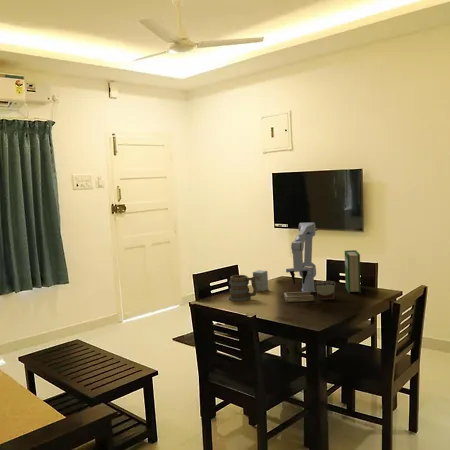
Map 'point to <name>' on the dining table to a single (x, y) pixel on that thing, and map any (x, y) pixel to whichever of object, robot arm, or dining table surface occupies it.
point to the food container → (325, 289)
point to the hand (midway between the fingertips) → (298, 283)
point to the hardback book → (352, 271)
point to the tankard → (241, 287)
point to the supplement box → (261, 280)
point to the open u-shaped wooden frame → (298, 296)
